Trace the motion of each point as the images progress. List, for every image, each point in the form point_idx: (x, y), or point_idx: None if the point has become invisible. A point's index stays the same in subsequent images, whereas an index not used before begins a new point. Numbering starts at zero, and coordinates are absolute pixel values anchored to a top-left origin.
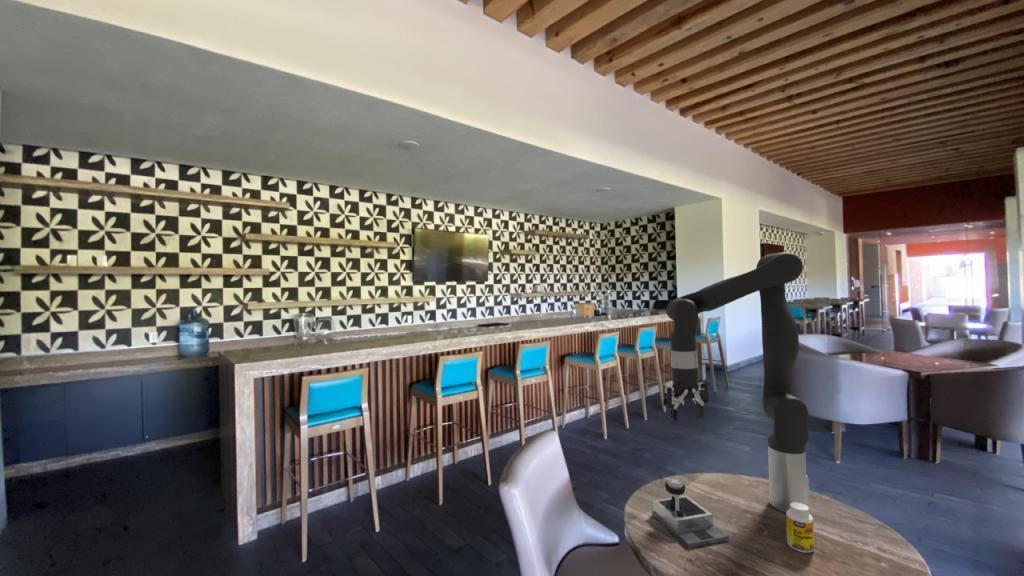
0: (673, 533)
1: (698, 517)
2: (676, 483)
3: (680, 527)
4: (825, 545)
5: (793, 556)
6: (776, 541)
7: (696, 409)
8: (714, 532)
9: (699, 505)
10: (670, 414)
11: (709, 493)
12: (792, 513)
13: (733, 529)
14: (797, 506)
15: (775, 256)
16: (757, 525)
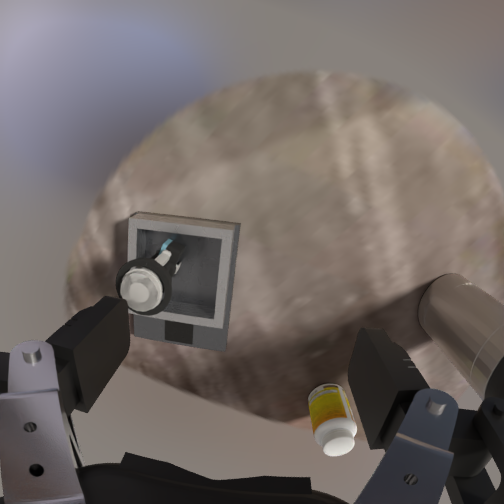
0: None
1: (182, 321)
2: (136, 303)
3: None
4: None
5: (290, 405)
6: (307, 376)
7: (375, 378)
8: (208, 333)
9: (224, 287)
10: (67, 327)
11: (359, 185)
12: (324, 435)
13: (269, 325)
14: (334, 447)
15: None
16: (328, 332)
